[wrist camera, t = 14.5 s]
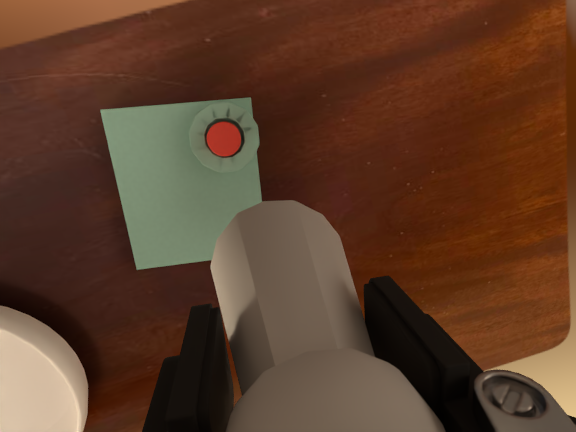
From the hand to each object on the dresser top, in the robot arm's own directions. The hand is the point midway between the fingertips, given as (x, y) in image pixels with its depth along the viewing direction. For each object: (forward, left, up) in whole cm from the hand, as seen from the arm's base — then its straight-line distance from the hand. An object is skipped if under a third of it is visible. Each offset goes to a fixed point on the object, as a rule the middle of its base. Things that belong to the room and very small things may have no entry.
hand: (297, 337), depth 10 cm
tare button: (-5, -2, -21) cm, 21 cm away
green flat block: (-1, -6, -23) cm, 24 cm away
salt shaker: (0, 0, -8) cm, 8 cm away
